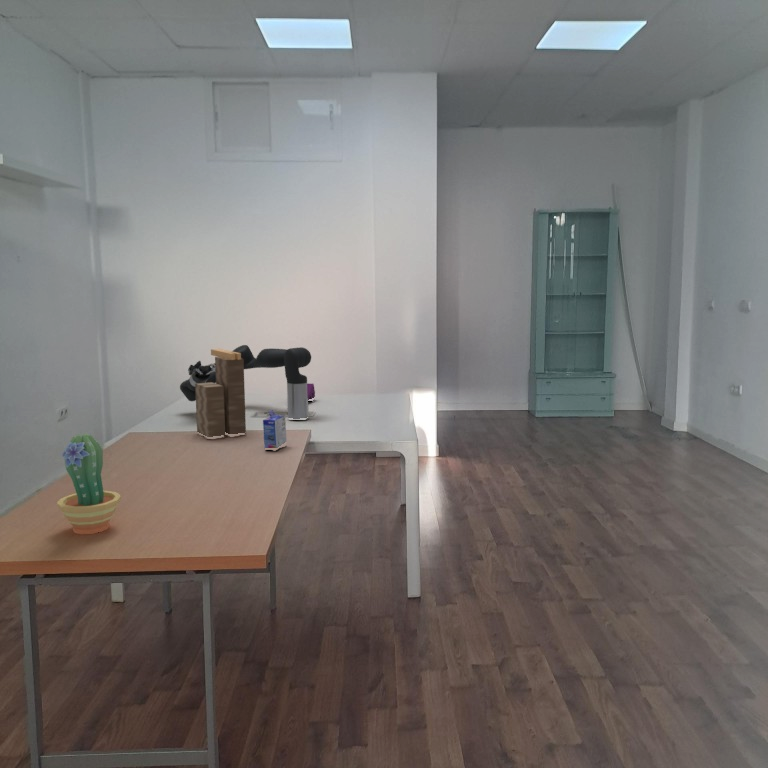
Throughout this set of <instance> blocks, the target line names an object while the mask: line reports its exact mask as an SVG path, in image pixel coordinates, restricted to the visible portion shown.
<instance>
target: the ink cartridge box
mask: <svg viewBox="0 0 768 768" xmlns="http://www.w3.org/2000/svg"><path fill="white" fill-rule="evenodd" d="M268 414H269V416H268V417H267V418H265V419H263V420H262V425H263V429H262V430H263V442H264V444H263V445H264V449H265V448H278V447H279V446H281V445H282V444H284V443H285V442H287V427H286V426H287V424H286V415H282V414H281V415H280V414H276V413H275V412H274V410H270V411H268Z"/></svg>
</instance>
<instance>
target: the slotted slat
mask: <svg viewBox="0 0 768 768" xmlns="http://www.w3.org/2000/svg"><path fill="white" fill-rule="evenodd" d="M232 351H233V350H232ZM232 351H231V350H227V349H223V348H211V349H210V356H214V357H221V358H225V359H229V360H235V359H237V360H240V359H241V353H237V352H232Z"/></svg>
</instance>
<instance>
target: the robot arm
mask: <svg viewBox="0 0 768 768" xmlns="http://www.w3.org/2000/svg"><path fill="white" fill-rule="evenodd" d="M232 352H237V353H241V359H244V370H251V369H256V368H259V369H260V368H265V369H272V368H273V369H274V368H282V367H284V372H285V373H284V374H285V378H286V392H287V393H286V394H287V399H286V400H287V419H288V418H293V419H300V418H307V417H308V415H309V402H308V398H307V384H308V377H307V375H304V374H302V373H300V368H304V367H305V368H306V367H307V366H309V365H310V363H311V361H312V355H311V352H310V350H309V349H307V348H305V347H293V348H292V347H291V348H287V349H284V348H263V349H262V350H261V351H259V352H258V354H257V355H256V357H255V356H254V354H253V352H252V350H251V349H250V347H249V345H248V344H247V345H246V344H243V345H240V346H238V347H236V348H234V349H233V350H232ZM187 372H188V375H189V376H190V377H189V378H188V379H186V380H184V381H182V382H181V383H180V385H179V390H180V391H181V392H182V394H183V395H184V397H185V398H186V399H187V401H189V402H196V391H195V383H207V382H212V383H216V370H215V362H214V363H209V364H208V365H202V361H201V360H198V361H196V363H195V364H190V365H189V367H188V370H187Z"/></svg>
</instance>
